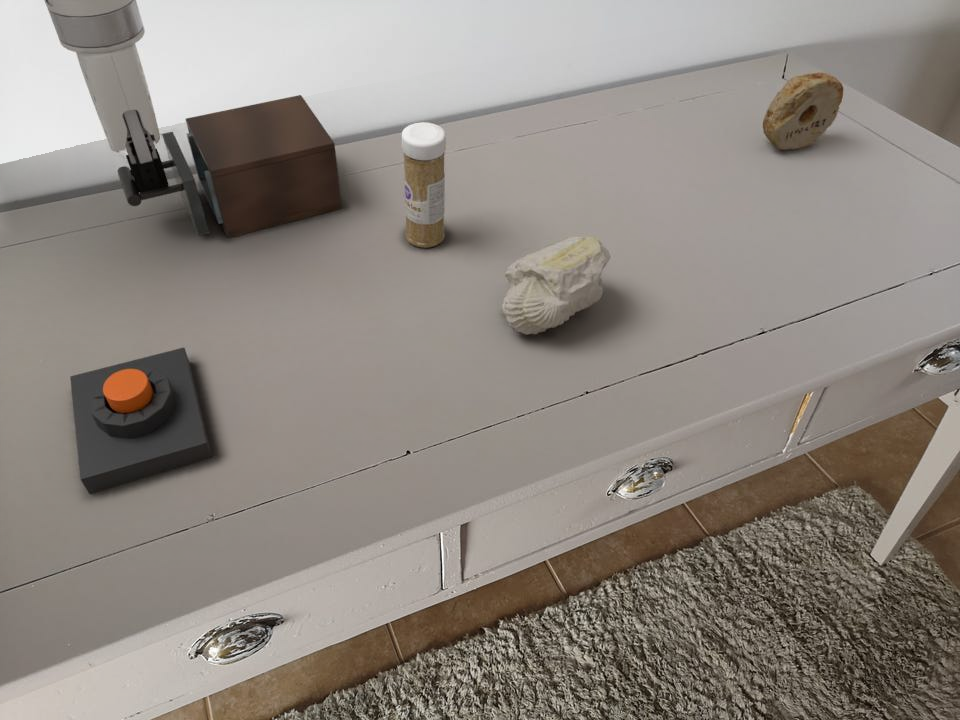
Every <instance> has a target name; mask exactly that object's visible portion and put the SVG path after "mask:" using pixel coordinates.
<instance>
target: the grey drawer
mask: <svg viewBox="0 0 960 720" xmlns="http://www.w3.org/2000/svg"><path fill="white" fill-rule="evenodd" d="M161 136H162V139H163V143H164V147H165V149H166V153H167V156H168V160H163V161H162V165H163V168H164V170H165V169H170V168H171V169H172V173H173V177H174V179H175V183H176V184H173V185H169V186H168V187H164V188H159V189H155V190H151V191H146V192H142V193H139V191H138V189H137V186H136V183H135V181H134V178H133V175H132V172H131V169H130V167H128V166H125V165H122V166H120V167H118V168H117V171H116V173H117V176H118V179H119V181H120V184H121V187H122V190H123V193H124V196H125V199H126V202H127V203H128V205H129V206H131V207H138V206H139V205H140V204H141V203H142V201H144V200H149V199H154V198H157V197H162V196H165V195H170V194H175V193H179V194H180V196H181V198H182V200H183V203H184V205H185V207H186V210H187V212H188V215H189V217H190V219H191V222H192V224H193V227H194V229H195V232H196V234H197V235H198V236H202V235H205V234H209V233H210V230H209V227H208V224H207V219H206V216H205V212H204V209H203V205H202V201H201V197H200V194H199V190H198V186H197V182H196V180H195V177H194V175H193V172H192V171H191V169H190V166H189V164H188V162H187V160H186V157H185V155H184V153H183V151H182V148H181V147H180V145H179V142H178V139H177V138H176V136H175V134H174V131H168V132H164V133H162V134H161ZM186 138H187V141H188V145H189V149H190V153H191V157H192V161H193V163H194V167H195V172H196V175H197V178H198V181H199V185H200V186H201V189H202V191H203V193H204V195H205V197H206V200H207V202H208V204H209V206H210V209H211V210H212V213H213V215H214V217H215V220H216V221H217V223H218V225H220V224H221V223H223V220H222V216H221V213H220V209H219V205H218V201H217V197H216V193H215V189H214V185H213V181H212V177H211V173H210V171H209V169H208V167H207V165H206V163H205V161H204V159H203V157H202V155H201V153H200V151H199V149H198V147H197V144H196V142H195V140H194V138H193V136H192V134H191V133H189V132H187V133H186ZM221 225H222V224H221Z"/></svg>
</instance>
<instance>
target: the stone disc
mask: <svg viewBox="0 0 960 720" xmlns="http://www.w3.org/2000/svg"><path fill="white" fill-rule="evenodd" d="M843 97H844V86H843V84H842V82H841V81H839V79H838V78H837V77H835V76H833V75H831V74H829V73H826V72H814V73H803V74H801V75H796V76H793V77H791V78H790V79H789V80H787V81H786V82H785V83H784V85H783V86H782V88H781V90H779V91H778V92H777V93H776V95H775V96H774V97H773V98H772V100H771V102H770V104H769V105H768V107H767V110H766V112H765V114H764V117H763V119H762V130H763V134H764V135H765V137H766V139H767V140H768V141H769V142H770V143H771V144H772V145H773V146H774V147H775V148H778V149H779V150H784V151H785V150H791V151H792V150H798V149H802V148H805V147H806V148H807V147H808V146H811V145H812V144H813V143H815V142H816V141H818V140H819V139H820V138H821V137H822V136H823V134H825V132H826V131H827V130H828V128H829V127H831V126H832V124H833V123H834V121H835V120H836V118H837V116H838V112H839V110H840V105H841V104H842V102H843Z"/></svg>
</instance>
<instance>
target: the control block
mask: <svg viewBox="0 0 960 720" xmlns="http://www.w3.org/2000/svg"><path fill="white" fill-rule="evenodd" d="M125 369H137V370H140V371H142V372H144V373H145V374H146V376H147V378H148V380H149V382H150V385H151V387H152V390H153V396H152V399H151V401H150V402H149V403H148V404H147V405H146V406H145V407H144V408H142V409H141V410H138V411H136V412H133V413H119V412H116V411H114V410H113V409H112V408H111V407H110V405H109V403H108V401H107V399H106V397H105V395H104V393H103V386H104V383H105V381H106V380H107V379H108V378H109V377H110V376H111V375H112V374H114V373H116V372H118V371H121V370H125ZM69 377H70V378H69V380H70V389H71V398H72V399H71V400H72V408H73V409H72V410H73V417H74V419H73V420H74V428H75V438H76V439H75V440H76V448H77V458H78V468H79V469H78V470H79V478H80V482H81V483H82V484H83V486H84V488H85V490H86V492H87V493H88V494H93V493H98V492H101V491H103V490H108V489H110V488H114V487H118V486H121V485H124V484H128V483H130V482H133V481H137V480H140V479H145V478H148V477H151V476H155V475H157V474H160V473H164V472H168V471H171V470H174V469H178V468H181V467H185V466H188V465H191V464H194V463H197V462H201V461H204V460H208V459H212V458H213V454H212V450H211V446H210V442H209V438H208V434H207V429H206V425H205V421H204V416H203V413H202V407H201V404H200V400H199V396H198V392H197V388H196V384H195V379H194V376H193V372H192V367H191V363H190V360H189V357H188V353H187V351H186V348H185V347H180V348H176V349H172V350H170V351H164V352H161V353H156V354H153V355H148V356H145V357H141V358H137V359H133V360H129V361H125V362H121V363H117V364H113V365H110V366H106V367H102V368H98V369H93V370H90V371H86V372H81V373H78V374H74V375H71V376H69Z"/></svg>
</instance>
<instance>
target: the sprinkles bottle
mask: <svg viewBox="0 0 960 720" xmlns="http://www.w3.org/2000/svg"><path fill="white" fill-rule="evenodd" d="M446 134H447V133H446V132H445V130H444V129H443V128H442V127H441V126H440V125H437V124H435V123H432V122H423V121H421V122H414V123H411V124H409V125H407V126H406V127H405V128H403V130H402V131H401V151H402V153H403V164H404V165H403V166H404V209H405V210H404V212H405V223H406V224H405V226H406V229H405V239H406V240H407V242H408V243H409V244H410V245H412V246H415V247H417V248H423V249H424V248H425V249H426V248H427V249H428V248H432V247H435V246H438V245H439V244H441V243H442V242H443V241H444V239H445V237H446V236H445V235H446V234H445V233H446V232H445V225H444V223H445V220H444V219H445V201H446V199H445V196H446V195H445V194H446V193H445V192H446V191H445V189H446V187H445V186H446V184H445V183H446V181H445V177H446V175H445V153H446V150H447V136H446Z"/></svg>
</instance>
